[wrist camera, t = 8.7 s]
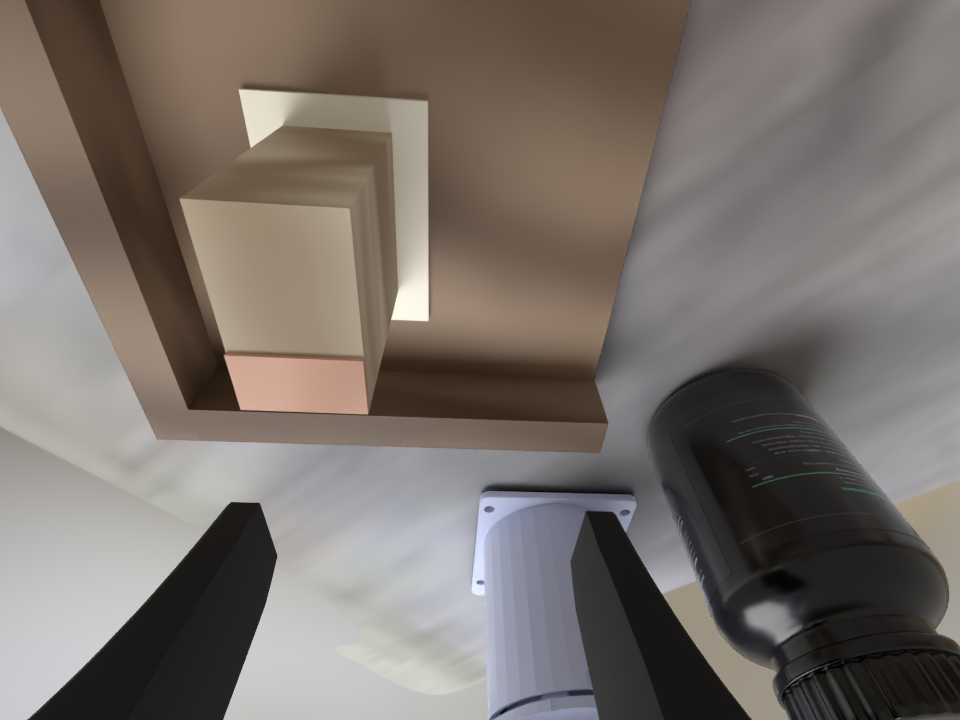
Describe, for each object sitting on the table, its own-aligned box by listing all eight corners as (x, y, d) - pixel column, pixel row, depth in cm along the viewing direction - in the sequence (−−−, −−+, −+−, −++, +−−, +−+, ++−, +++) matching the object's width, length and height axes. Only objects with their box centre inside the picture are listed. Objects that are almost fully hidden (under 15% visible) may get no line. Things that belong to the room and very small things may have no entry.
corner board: (582, 391, 21) (599, 452, 18) (200, 377, 20) (157, 439, 18) (694, -71, 12) (762, -90, 9) (18, -127, 11) (-128, -166, 9)
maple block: (391, 132, 14) (348, 210, 9) (398, 290, 17) (368, 414, 12) (282, 125, 14) (176, 200, 9) (308, 286, 17) (240, 409, 12)
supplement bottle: (750, 479, 25) (926, 787, 15) (622, 464, 24) (722, 780, 14) (832, 375, 21) (1141, 704, 11) (681, 353, 20) (875, 687, 10)
